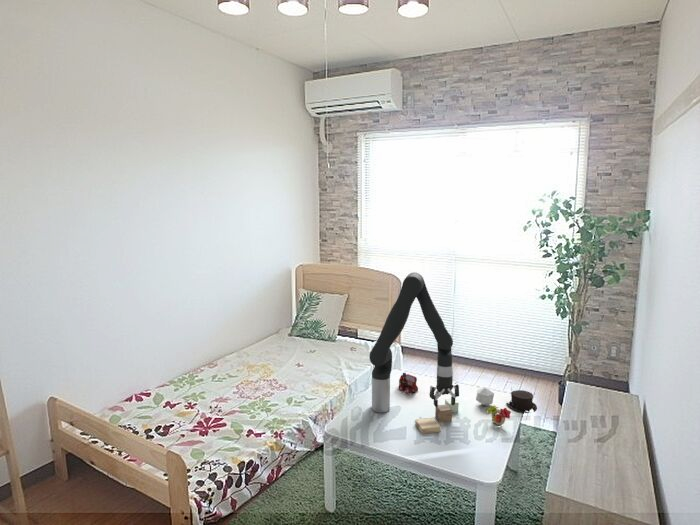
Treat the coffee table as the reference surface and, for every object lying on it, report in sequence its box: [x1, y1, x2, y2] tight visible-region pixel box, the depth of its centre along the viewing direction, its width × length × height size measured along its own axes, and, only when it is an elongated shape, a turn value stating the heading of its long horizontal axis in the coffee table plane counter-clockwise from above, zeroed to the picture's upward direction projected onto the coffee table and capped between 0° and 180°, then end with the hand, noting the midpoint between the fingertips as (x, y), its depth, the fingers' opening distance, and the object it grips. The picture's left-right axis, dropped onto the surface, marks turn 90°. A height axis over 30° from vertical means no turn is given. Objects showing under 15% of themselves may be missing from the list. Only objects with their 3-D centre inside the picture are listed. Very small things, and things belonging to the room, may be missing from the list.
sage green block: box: [444, 398, 460, 413], centre depth 232 cm, size 5×5×5 cm
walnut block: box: [434, 403, 453, 423], centre depth 222 cm, size 6×6×6 cm
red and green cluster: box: [486, 405, 512, 426], centre depth 217 cm, size 6×11×9 cm, turn 44°
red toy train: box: [397, 372, 419, 395], centre depth 255 cm, size 7×12×10 cm, turn 39°
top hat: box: [505, 386, 538, 414], centre depth 235 cm, size 15×15×10 cm
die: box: [475, 387, 495, 406], centre depth 236 cm, size 8×9×10 cm
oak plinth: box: [414, 417, 442, 435], centre depth 213 cm, size 9×9×2 cm
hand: (444, 405), depth 221 cm, fingers open, 8 cm apart
